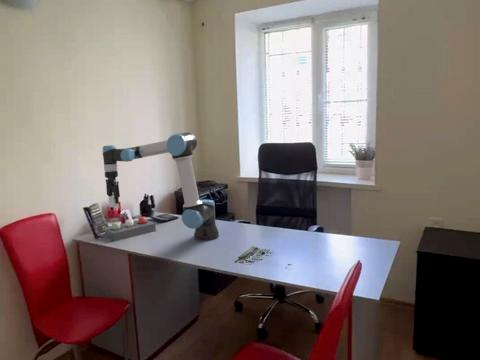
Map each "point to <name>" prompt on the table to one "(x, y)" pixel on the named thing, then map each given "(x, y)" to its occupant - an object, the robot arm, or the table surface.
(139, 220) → the button red
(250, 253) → the model
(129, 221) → the button cream
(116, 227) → the button sage
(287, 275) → the table surface
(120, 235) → the grey tray
